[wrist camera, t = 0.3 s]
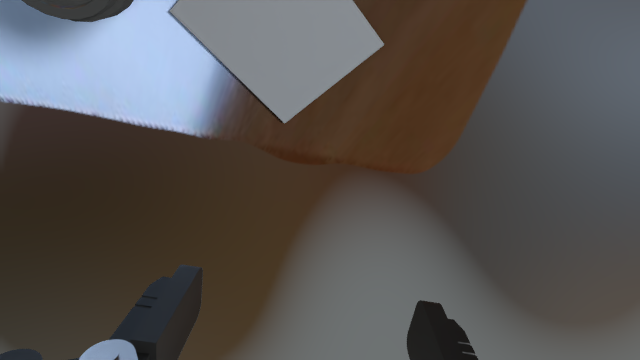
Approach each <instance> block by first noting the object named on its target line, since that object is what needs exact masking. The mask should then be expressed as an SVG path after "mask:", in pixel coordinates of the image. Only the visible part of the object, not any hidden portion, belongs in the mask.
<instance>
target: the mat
mask: <svg viewBox="0 0 640 360" xmlns="http://www.w3.org/2000/svg"><path fill="white" fill-rule="evenodd" d="M170 12H171V13H172V14H173V15H174V16H175V17H176V18H177V19H178V20H179V21H180V22H181V23H182V24H183V25H184V26H185V27H186V28H187V29H188V30H189V31H191V32H192V33H193V34H194V35H195V36H196V37H197V38H198V39H199V40H200V41H201V42H202V43H203V44H204V45H205V46H206V47H207V48H208V49H209V50H210V51H211V52H212V53H213V54H214V55H215V56H216V57H217V58H218V59H219V60H220V61H221V62H222V63H223V64H224V65H225V66H226V67H227V68H228V69H229V70H230V71H231V72H232V73H233V74H235V75H236V76H237V77H238V78H239V79H240V80H241V81H242V82H243V83H244V84H245V85H246V86H247V87H248V88H249V89H250V90H251V91H252V92H253V93H254V94H255V95H256V96H257V97H258V98H259V99H260V100H261V101H262V102H263V103H264V104H265V105H266V106H267V107H268V108H269V109H270V110H271V111H272V112H273V113H274V114H275V115H276V116H277V117H279V118H280V119H281V120H282V121H283V122H284V123H286V122H287V121H288V120H290V119H291V118H292V117H293V116H295V115H296V114H297V113H298V112H300V111H301V110H302V109H303V108H305V107H306V106H307V105H309V104H310V103H311V102H312V101H314V100H315V99H316V98H317V97H319V96H320V95H321V94H322V93H324V92H325V91H326V90H328V89H329V88H330V87H331V86H333V85H334V84H335V83H336V82H338V81H339V80H340V79H341V78H343V77H344V76H345V75H346V74H348V73H349V72H350V71H352V70H353V69H354V68H355V67H357V66H358V65H359V64H360V63H362V62H363V61H364V60H365V59H367V58H368V57H369V56H371V55H372V54H373V53H374V52H376V51H377V50H378V49H379V48H381V47H382V46H383V45H384V43H383V42H382V41H381V39H380V38H379V36H378V35H377V34H376V32H375V31H374V29H373V28H372V27H371V25H370V24H369V22H368V21H367V20H366V18H365V17H364V15H363V14H362V13H361V11H360V10H359V9H358V7H357V6H356V4H355V3H354V2H353V0H179V1H178V2H177V3H176V4H175V5H174V6H173V8H172V9H171V10H170Z"/></svg>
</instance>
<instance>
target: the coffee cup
mask: <svg viewBox="0 0 640 360" xmlns="http://www.w3.org/2000/svg"><path fill="white" fill-rule="evenodd" d="M22 1H23V2H25V3H26V4H27V5H29V6H31V7H33V8H35V9H37V10H39V11H41V12H43V13H45V14H47V15H51V16H55V17H58V18H62V19H69V20H72V21H82V22H93V21H97V20H101V19H105V18H108V17H112V16H116V15H118V14H119V13H121V12H122V11H124V10H125V9H126V8H128V7H129V6H130V5H131V3H132V2H133V0H22Z"/></svg>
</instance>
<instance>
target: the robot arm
mask: <svg viewBox="0 0 640 360" xmlns="http://www.w3.org/2000/svg"><path fill="white" fill-rule="evenodd" d="M202 277H203V269H202V268H201V267H194V266H187V265H180V266H179V268H178V269H177V271H176V272H175V273H174V275H173V277H172V278H168V277H161V278H160V279H158V280H157V281H155V282H154V283H152V284H151V285H149V287H148V288H147V289H146V291H145V292H144V293H143V295H142V297H141V298H140V299H139V300H138V301H137V303H136V304H135V307H133V308H132V309H131V311H130V312H129V313H128V315H127V316H126V318H125V319H124V320H123V322H122V323H121V324H120V325H119V327H118V328H117V330H116V331H115V332H114V334H113V335H112V336H111V338H110V339H109V340H107V341H103V342H100V343H98V344H96V345H94V346H92V347H91V348H89V349H88V350H87V351H85V352H84V353H83V354H82V356H81V357H80V358H76V359H70V360H178V358H179V355H180V353H181V351H182V349H183V347H184V345H185V343H186V341H187V338H188V336H189V334H190V332H191V330H192V328H193V326H194V324H195V322H196V320H197V317H198V314H199V311H200V307H201V297H202ZM407 350H408V354H409V358H410V360H478V358H477V356H475V352H474V350H473V348H472V346H470V342H469V340H468V338H467V335H466V333H465V331H464V330H463V329H462V328H461V327H460V326H459V325H458V324H457V323H456V322H455V320H452V319H448V318H447V316H446V314H445V312H444V309H443V307H442V305H441V304H440V303H434V302H427V301H421V300H420V301H418V303H417V305H416V308H415V311H414V315H413V318H412V321H411V324H410V327H409V331H408V334H407ZM0 360H42V356H41V355H40V353H38V352H37V351H35V350H31V349H17V350H12V351H8V352H5V353H3V354H0Z"/></svg>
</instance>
